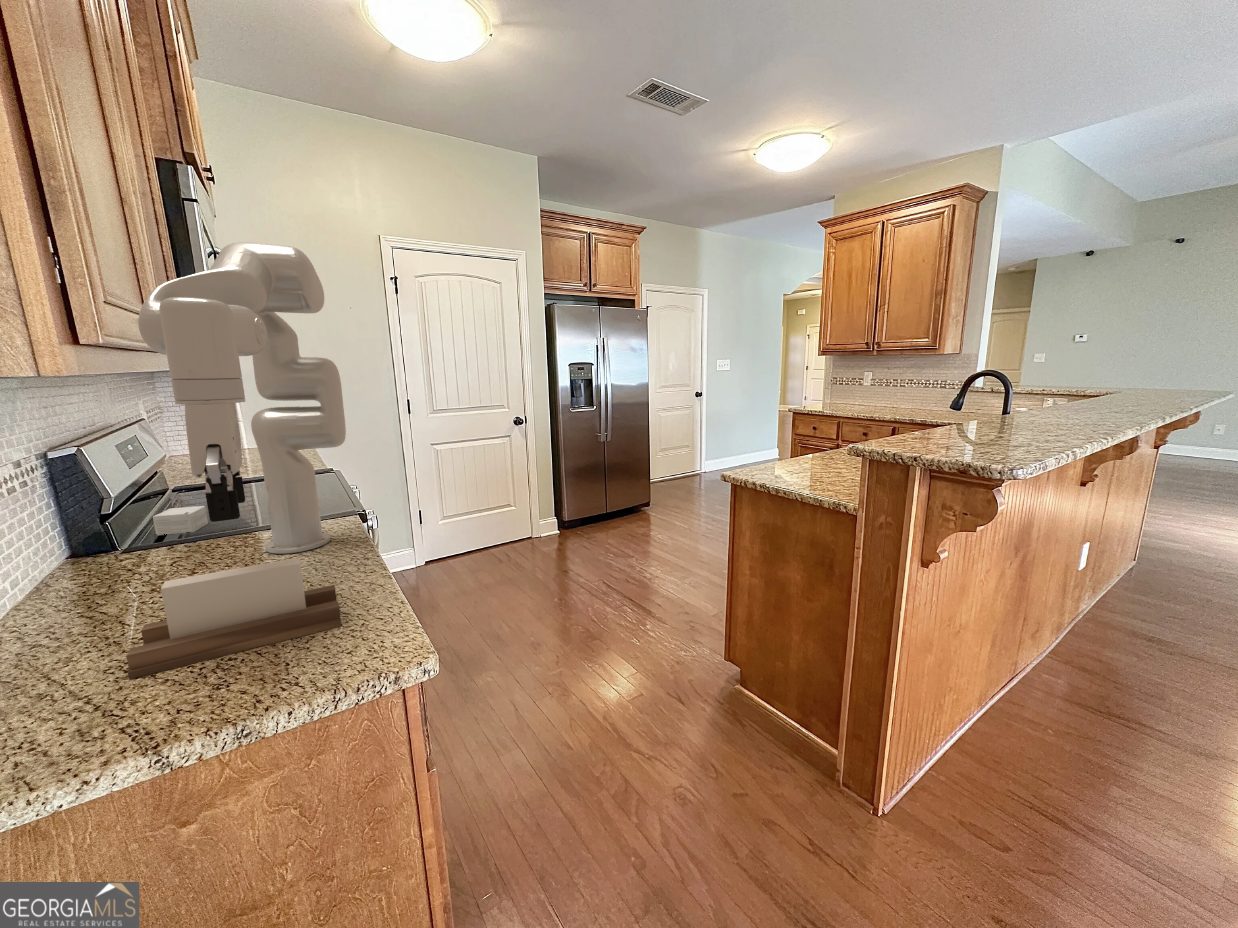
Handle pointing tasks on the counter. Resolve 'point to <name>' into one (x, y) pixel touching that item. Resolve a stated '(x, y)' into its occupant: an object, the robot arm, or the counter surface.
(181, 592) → the white rectangular slab
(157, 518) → the small box
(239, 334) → the robot arm
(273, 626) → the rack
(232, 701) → the counter surface
